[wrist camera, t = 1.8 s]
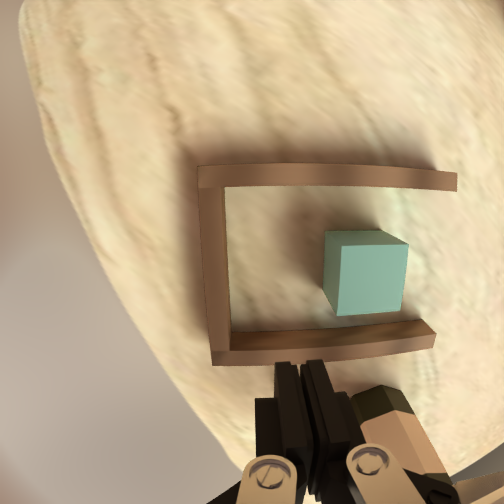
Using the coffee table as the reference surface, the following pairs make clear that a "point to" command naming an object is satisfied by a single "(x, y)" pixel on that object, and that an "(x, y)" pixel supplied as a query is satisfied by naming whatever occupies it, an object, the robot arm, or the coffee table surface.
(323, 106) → the coffee table surface
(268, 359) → the frame
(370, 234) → the teal block
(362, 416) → the wine bottle
